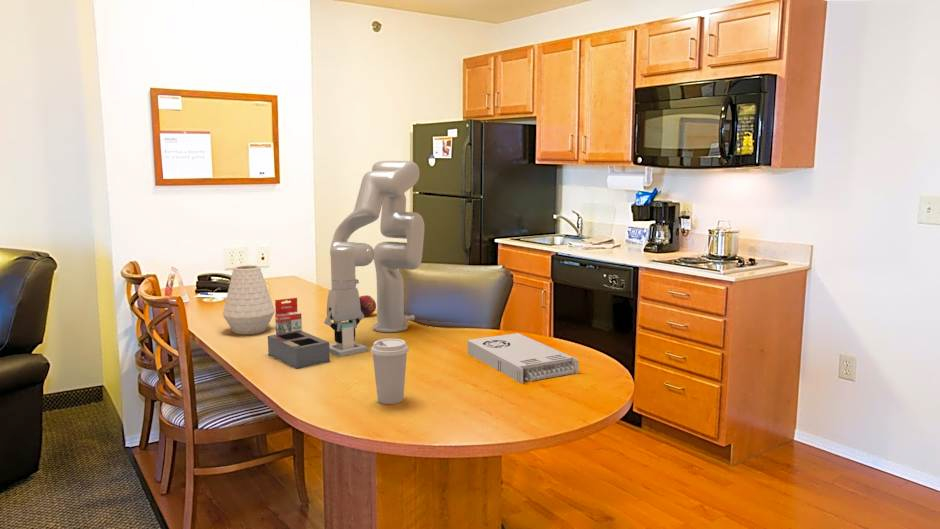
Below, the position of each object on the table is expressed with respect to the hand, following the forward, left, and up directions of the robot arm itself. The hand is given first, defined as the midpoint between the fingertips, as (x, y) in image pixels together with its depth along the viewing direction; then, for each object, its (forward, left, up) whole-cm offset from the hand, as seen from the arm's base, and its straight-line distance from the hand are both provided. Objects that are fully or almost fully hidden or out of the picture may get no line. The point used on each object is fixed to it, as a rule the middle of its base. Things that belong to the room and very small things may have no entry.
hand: (345, 340), depth 211 cm
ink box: (+9, -21, -4) cm, 23 cm away
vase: (+13, -44, -4) cm, 46 cm away
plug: (0, 0, -3) cm, 3 cm away
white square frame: (0, 0, -3) cm, 3 cm away
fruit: (-31, -37, -4) cm, 48 cm away
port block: (+15, -2, -3) cm, 16 cm away
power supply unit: (-33, +46, -4) cm, 56 cm away
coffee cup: (+14, +46, -3) cm, 48 cm away
